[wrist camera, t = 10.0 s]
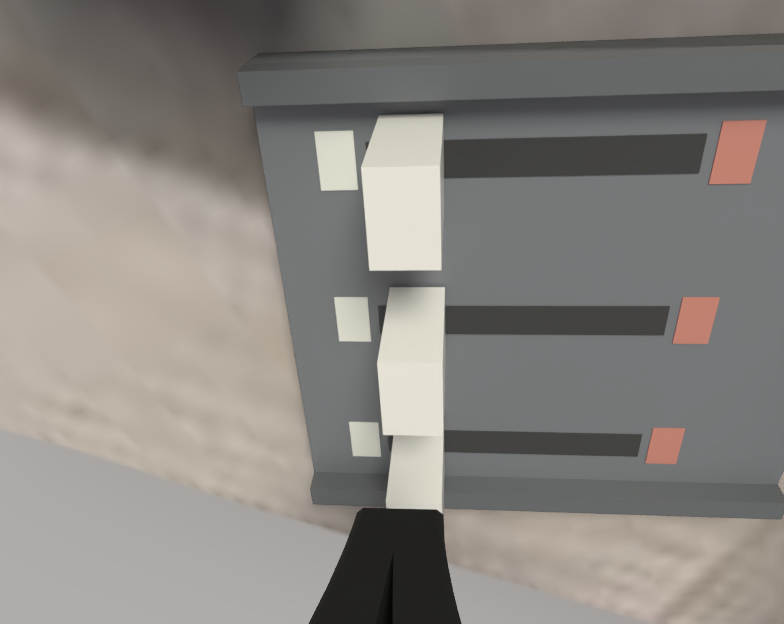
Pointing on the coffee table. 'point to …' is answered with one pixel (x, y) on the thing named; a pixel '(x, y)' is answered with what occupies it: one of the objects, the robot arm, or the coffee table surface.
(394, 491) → the block
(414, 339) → the block
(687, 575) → the coffee table surface
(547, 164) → the breaker panel
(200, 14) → the coffee table surface
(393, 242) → the breaker
